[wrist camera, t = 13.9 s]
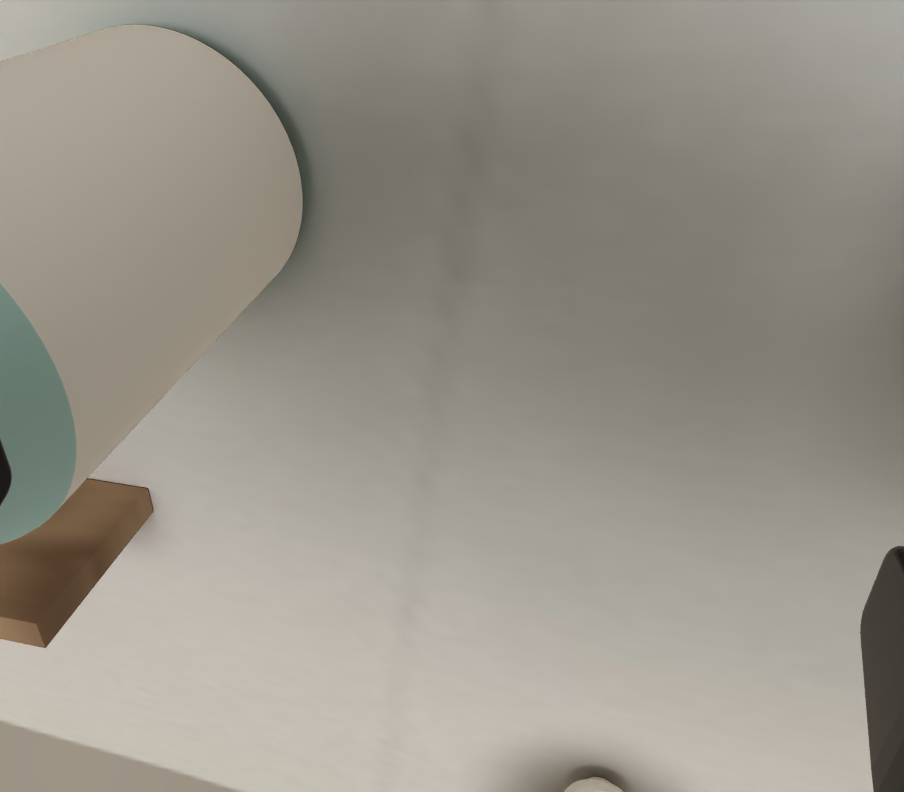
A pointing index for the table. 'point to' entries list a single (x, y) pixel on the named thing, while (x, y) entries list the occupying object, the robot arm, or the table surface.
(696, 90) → the table surface
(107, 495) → the three-sided wooden tray
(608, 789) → the lightbulb
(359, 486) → the table surface
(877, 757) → the robot arm
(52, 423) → the can
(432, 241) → the table surface
